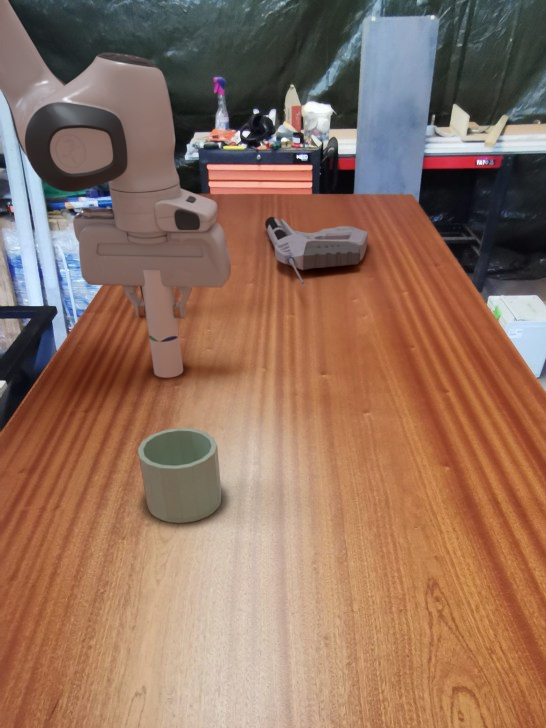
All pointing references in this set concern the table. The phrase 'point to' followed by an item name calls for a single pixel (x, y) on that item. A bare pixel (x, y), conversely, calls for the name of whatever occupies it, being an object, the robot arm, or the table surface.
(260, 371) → the table surface
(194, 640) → the table surface
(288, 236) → the power tool
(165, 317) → the tube
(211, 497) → the pale green hollow cylinder
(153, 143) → the robot arm
